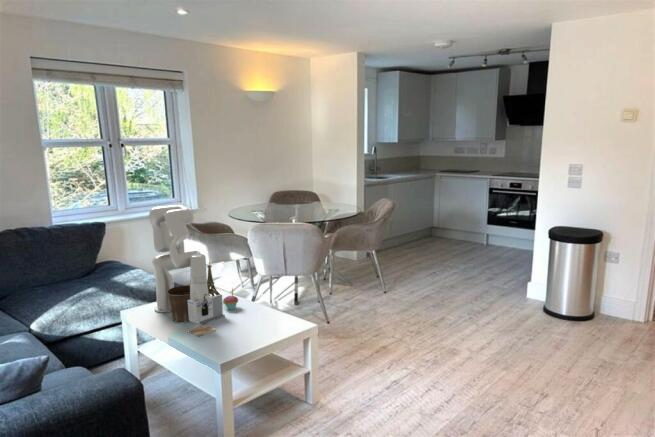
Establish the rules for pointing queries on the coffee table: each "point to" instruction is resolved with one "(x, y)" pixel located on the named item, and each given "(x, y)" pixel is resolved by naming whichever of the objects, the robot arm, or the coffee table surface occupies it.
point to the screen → (215, 309)
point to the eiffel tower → (211, 283)
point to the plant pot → (179, 303)
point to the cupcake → (230, 301)
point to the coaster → (201, 330)
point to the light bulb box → (198, 310)
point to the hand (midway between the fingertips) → (200, 313)
